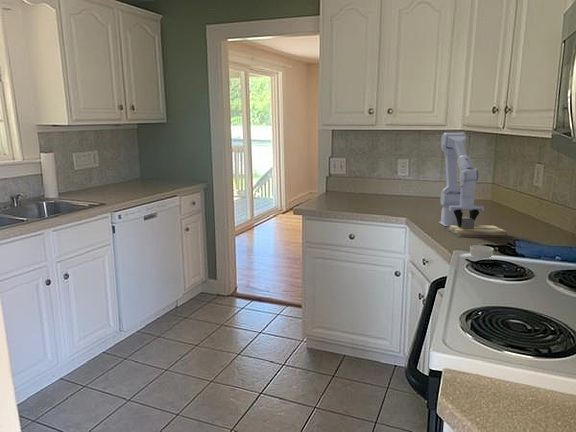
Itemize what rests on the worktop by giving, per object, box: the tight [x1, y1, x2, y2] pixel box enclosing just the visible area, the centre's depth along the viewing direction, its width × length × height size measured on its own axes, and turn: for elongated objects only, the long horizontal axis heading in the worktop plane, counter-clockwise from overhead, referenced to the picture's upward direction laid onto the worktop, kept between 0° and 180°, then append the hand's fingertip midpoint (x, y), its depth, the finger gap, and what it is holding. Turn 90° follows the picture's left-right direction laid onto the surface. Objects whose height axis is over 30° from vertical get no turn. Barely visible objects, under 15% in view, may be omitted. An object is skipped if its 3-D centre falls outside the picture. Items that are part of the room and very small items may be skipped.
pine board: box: [443, 224, 514, 238], centre depth 193 cm, size 18×23×2 cm
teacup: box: [469, 244, 494, 258], centre depth 149 cm, size 10×10×5 cm
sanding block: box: [457, 216, 475, 230], centre depth 193 cm, size 8×4×4 cm, turn 179°
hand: (465, 226), depth 193 cm, fingers closed on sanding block, 4 cm apart
